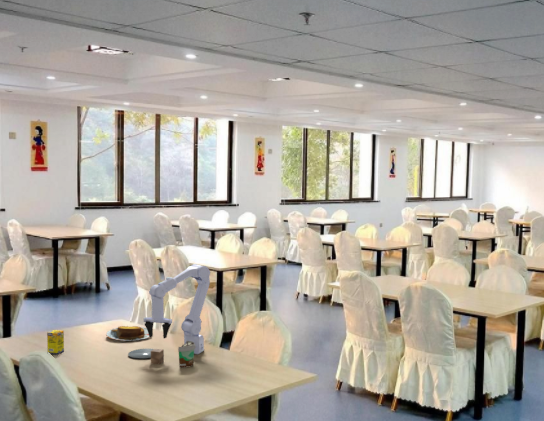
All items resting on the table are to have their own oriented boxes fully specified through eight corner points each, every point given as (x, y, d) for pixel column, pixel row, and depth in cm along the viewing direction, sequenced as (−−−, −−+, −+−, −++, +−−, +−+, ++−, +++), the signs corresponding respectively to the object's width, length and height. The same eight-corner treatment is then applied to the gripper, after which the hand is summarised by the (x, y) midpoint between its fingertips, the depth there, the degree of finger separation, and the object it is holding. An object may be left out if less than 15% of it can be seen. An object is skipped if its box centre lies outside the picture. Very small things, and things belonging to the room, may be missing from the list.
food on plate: (150, 330, 386) (150, 318, 385) (155, 341, 362) (155, 329, 361) (104, 333, 378) (104, 322, 378) (107, 344, 354) (107, 332, 354)
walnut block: (163, 361, 323) (163, 349, 322) (159, 364, 318) (159, 352, 318) (155, 361, 324) (155, 348, 323) (150, 363, 320) (150, 351, 319)
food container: (191, 369, 311) (190, 347, 310) (178, 368, 312) (178, 347, 311) (199, 361, 323) (198, 340, 322) (187, 360, 324) (186, 340, 323)
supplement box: (57, 354, 335) (57, 333, 334) (47, 354, 337) (46, 332, 336) (64, 351, 341) (63, 330, 340) (54, 350, 342) (53, 329, 342)
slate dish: (166, 351, 339) (166, 349, 339) (151, 360, 324) (151, 358, 324) (138, 349, 344) (138, 347, 344) (122, 358, 329) (122, 356, 329)
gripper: (140, 310, 325) (140, 338, 325) (167, 312, 320) (167, 340, 321) (147, 307, 331) (147, 334, 332) (173, 309, 327) (174, 336, 328)
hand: (157, 337), depth 327 cm, fingers open, 7 cm apart
